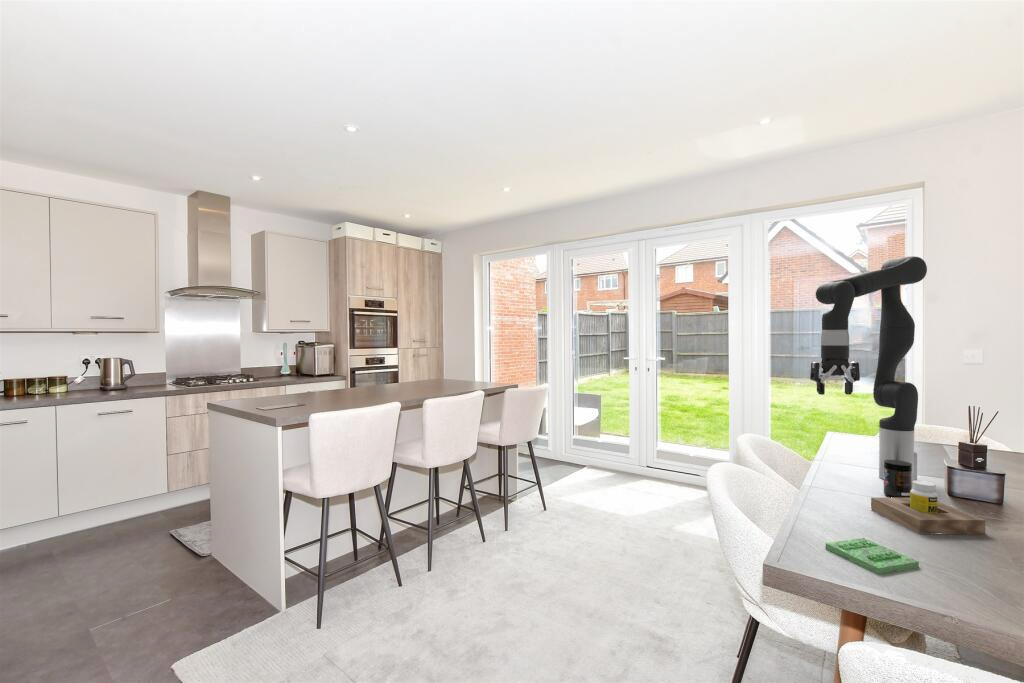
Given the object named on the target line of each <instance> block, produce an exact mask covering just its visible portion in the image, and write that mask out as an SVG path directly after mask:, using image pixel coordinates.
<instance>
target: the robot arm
mask: <svg viewBox="0 0 1024 683" xmlns="http://www.w3.org/2000/svg"><path fill="white" fill-rule="evenodd" d="M927 271H928V266H927V264H926V261H925V260H924V259H923V258H922V257H919V256H912V255H911V256H905V257H904V256H903V257H898V258H897V257H896V258H892V259H890V258H889V259H887V260H885V261H884V262H883V263H882V266H881V268H880V269H876V270H871V271H866V272H865V271H864V272H862V273H858V274H855V275H852V276H849V277H847V278H843V279H838V280H831V281H827V282H824V283H822V284H820V285H819V286H818V287H817V289H816V290H815V298H816V300H817V301H818V302H819V303H820V304H823V305H833V307H832V309H831V310H829V311H826V312H824V313H823V314H822V316H821V334H820V359H821V362H815V361H812V362H811V364H810V375H809V376H810V377H809V379H810V381H813V382H816V392H817V393H818V395H822V396H823V395H825V393H826V390H825V388H826V387H825V385H826V383H825V381H827V379H829V378H830V377H831V376H832V377H834V376H839V377H841V378H842V379H843V380H844V394H845V395H849V396H850V395H852V393H853V392H854V383H855V382H858V381H859V382H860V380H861V375H860V363H859V362H858V361H851V362H849V358H850V334H849V316H850V313H851V310H852V307H853V303H854V300H855V298H858V297H862V296H865V295H868V294H871V293H875V292H878V291H880V295H881V296H880V297H881V308H880V309H881V310H880V311H881V313H880V325H879V326H880V327H879V337H878V338H879V339H878V341H879V342H878V357H877V358H878V359H877V367H876V371H875V377H874V383H873V389H872V390H873V391H872V392H873V393H872V395H873V400H874V402H875V404H876V405H877V406H880V407H884V408H890V409H894V412H893V415H891V416H889V417H883V418H880V419H879V422H878V423H879V424H878V425H879V427H878V429H879V430H878V431H879V434H878V435H879V438H878V439H879V440H878V441H879V442H878V443H879V444H878V446H879V448H878V449H879V450H878V477H879V478H880V479H882V480H884V460H900V461H905V462H909V463H911V464H912V482H913V481H915V480H918V453H917V452H915V426H916V423H917V420H918V407H919V406H918V405H919V392H918V389H917V387H916V386H915V384H914V383H911V382H906V381H895V378H896V377H895V376H896V372H897V368H898V366H899V364H900V363H901V361H902V360H903V358H904V357H905V356H906V355H907V354H908V353H909V351H910V350H911V349H912V347H913V345H914V342H915V331H916V330H915V329H916V324H915V320H914V318H913V317H912V315H911V314H910V312H909V311H908V309H907V308H906V307H905V305H904V304H903V302H902V297H901V286H904V285H913V284H917V283H920V282H921V281H922V280H924V279H925V277H926V276H927ZM820 369H822V370H820ZM848 370H850V371H848Z"/></svg>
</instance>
